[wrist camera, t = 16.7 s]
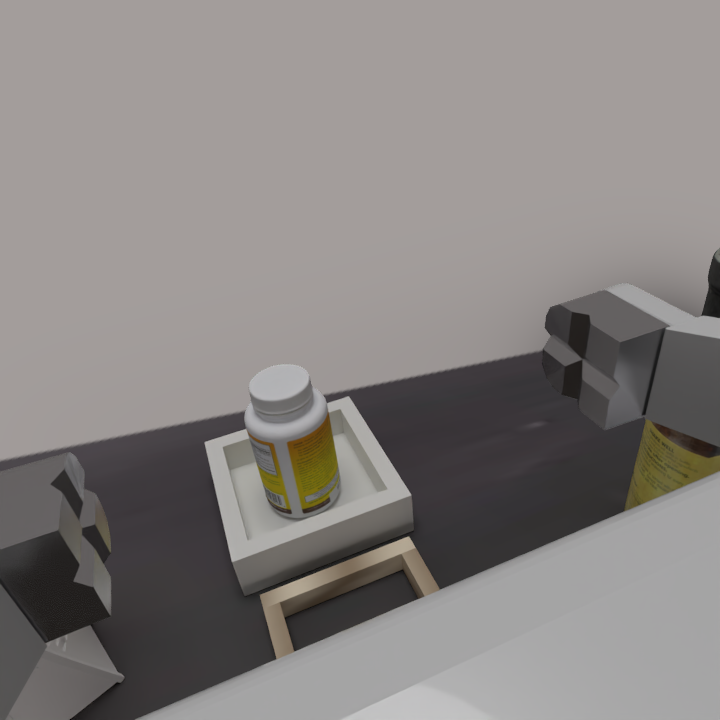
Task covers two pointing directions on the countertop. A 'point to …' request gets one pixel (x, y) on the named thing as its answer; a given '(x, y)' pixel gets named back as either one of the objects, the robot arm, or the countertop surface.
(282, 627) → the wooden frame
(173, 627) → the countertop surface
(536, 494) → the countertop surface
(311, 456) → the supplement bottle
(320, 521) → the tray
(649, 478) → the sauce bottle
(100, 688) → the skyscraper
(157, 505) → the countertop surface
